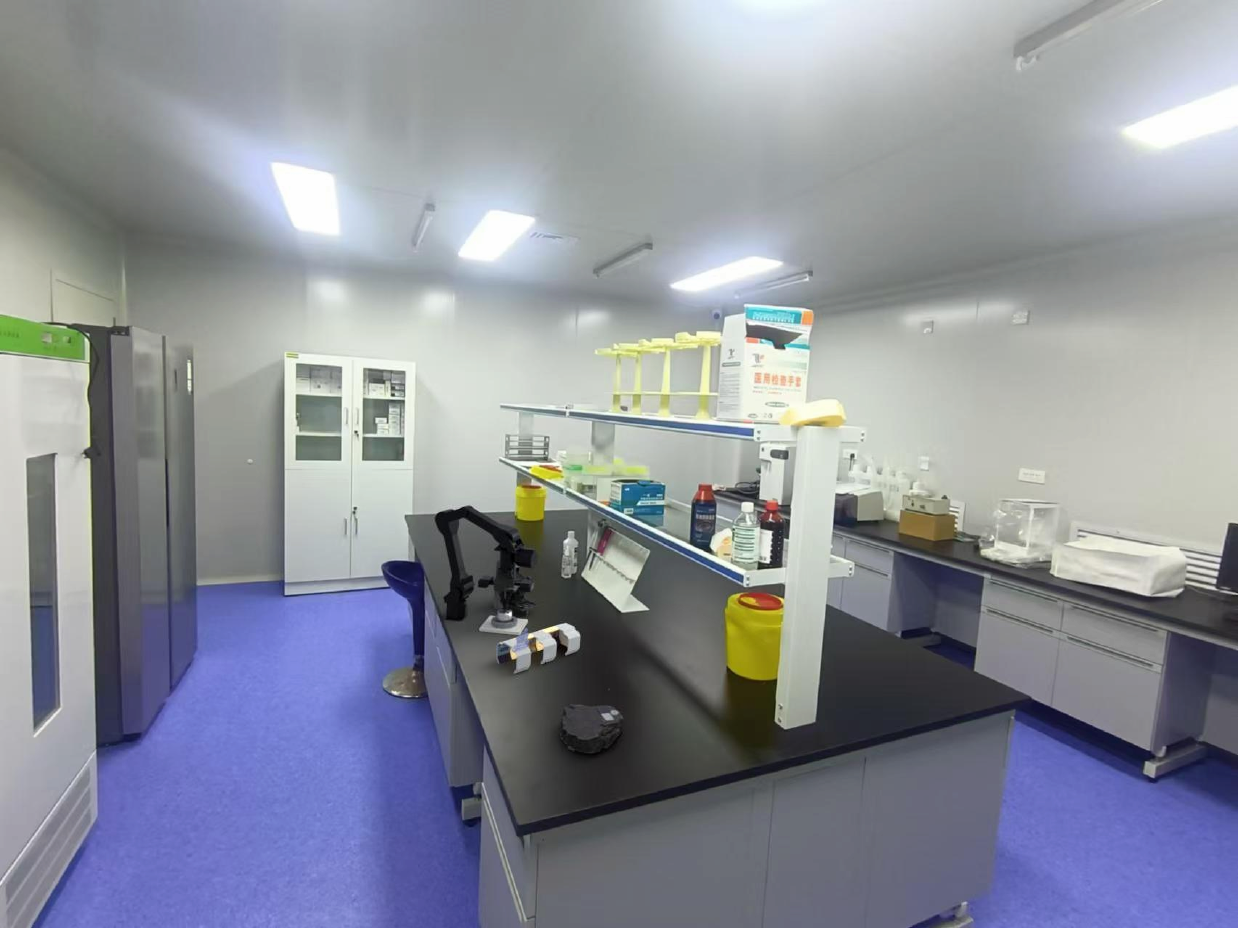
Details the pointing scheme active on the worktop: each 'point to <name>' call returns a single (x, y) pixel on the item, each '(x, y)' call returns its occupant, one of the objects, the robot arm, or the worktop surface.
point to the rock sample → (590, 726)
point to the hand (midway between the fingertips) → (505, 607)
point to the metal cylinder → (504, 615)
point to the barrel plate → (505, 631)
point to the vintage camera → (514, 594)
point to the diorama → (538, 645)
